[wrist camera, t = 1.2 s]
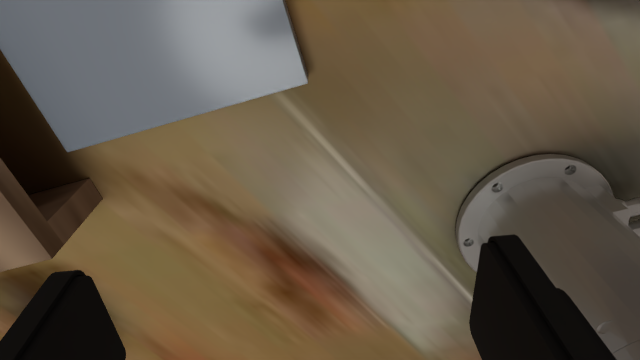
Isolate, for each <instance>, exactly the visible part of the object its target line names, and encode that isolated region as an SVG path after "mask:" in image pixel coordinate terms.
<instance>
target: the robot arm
mask: <svg viewBox="0 0 640 360" xmlns="http://www.w3.org/2000/svg"><path fill="white" fill-rule="evenodd" d="M636 215H640V197H637V198H634V199H632V200H628V201H623V200H621V199H616V198H615V197H614V195H613V192H612V189H611V187H610V185H609V183H608V182H607V180H606V179H605V178H604V177H603V175H602V174H601V173H600V172H598V171H597V170H596V169H595V168H593V167H592V166H591V165H589V164H587V163H586V162H584V161H582V160H580V159H578V158H574V157H571V156H567V155H559V154H542V155H534V156H530V157H526V158H522V159H518V160H516V161H514V162H511V163H509V164H506V165H504V166H502V167H501V168H499V169H497V170H496V171H494V172H492V173H491V174H489V175H488V176H487V177H486V178H485V179H483V180H482V181H481V182H480V183H479V184H478V185H477V186H476V187H475V188H474V189H473V190H472V191H471V193H470V194H469V195H468V197H467V198H466V200H465V202H464V203H463V205H462V206H461V209H460V212H459V214H458V217H457V222H456V229H455V231H456V241H457V244H458V247H459V250H460V252H461V254H462V256H463V257H464V259H465V261H466V262H467V264H468V265H469V266H470V267H471V268H472V269H473V270H474V271H476V272H477V275H476V281H475V288H474V295H473V301H472V308H471V314H470V322H469V323H470V331H471V334H472V337H473V339H474V342H475V344H476V346H477V349H478V351H479V353H480V356H481V358H482V360H640V219H638V221H634V222H629V219H630V217H632V216H636ZM125 359H126V352H125V348H124V346H123V343H122V341H121V339H120V337H119V335H118V333H117V331H116V329H115V326H114V324H113V322H112V320H111V318H110V316H109V314H108V312H107V309H106V307H105V305H104V303H103V301H102V299H101V297H100V294H99V292H98V290H97V288H96V286H95V284H94V282H93V280H92V278H91V277H90V276H86V275H85V274H84V272H82V271H80V270H75V271H63V272H55V273H52V274H51V275H50V276H49V277H48V278H47V280H46V281H45V282H44V284H43V285H42V286H41V288H40V289H39V290H38V292H37V293H36V294H35V296H34V297H33V298H32V300H31V301H30V302H29V304H28V305H27V306H26V308H25V309H24V310H23V312H22V313H21V314H20V316H19V317H18V318H17V320H16V321H15V322H14V324H13V325H12V326H11V328H10V329H9V330H8V332H7V333H6V334H5V336H4V337H3V338H2V340H1V341H0V360H125Z"/></svg>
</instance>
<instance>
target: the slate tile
mask: <svg viewBox="0 0 640 360" xmlns="http://www.w3.org/2000/svg"><path fill="white" fill-rule="evenodd" d="M0 50H1V51H2V53H3V54H4V56H5V57H6V59H7V60H8V62H9V64H10V65H11V67H12V68H13V70H14V71H15V73H16V74H17V76H18V77H19V79H20V80H21V82H22V84H23V85H24V87H25V88H26V90H27V91H28V93H29V94H30V96H31V97H32V99H33V100H34V102H35V104H36V105H37V107H38V108H39V110H40V111H41V113H42V114H43V116H44V117H45V119H46V120H47V122H48V124H49V125H50V127H51V128H52V130H53V131H54V133H55V134H56V136H57V137H58V139H59V140H60V142H61V144H62V145H63V147H64V148H65V150H66V151H67V152H71V151H74V150H77V149H81V148H84V147H88V146H91V145H95V144H98V143H102V142H105V141H109V140H112V139H116V138H119V137H123V136H126V135H130V134H133V133H137V132H140V131H143V130H147V129H150V128H154V127H157V126H161V125H164V124H168V123H171V122H175V121H178V120H182V119H185V118H189V117H192V116H196V115H199V114H203V113H206V112H210V111H213V110H216V109H220V108H223V107H227V106H230V105H234V104H237V103H241V102H244V101H248V100H251V99H255V98H258V97H262V96H265V95H269V94H272V93H276V92H279V91H282V90H286V89H289V88H293V87H296V86H300V85H303V84H307V83H308V73H307V70H306V66H305V63H304V60H303V56H302V53H301V50H300V46H299V43H298V40H297V36H296V33H295V30H294V27H293V23H292V20H291V17H290V13H289V10H288V7H287V3H286V0H0Z"/></svg>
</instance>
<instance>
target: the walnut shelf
mask: <svg viewBox="0 0 640 360" xmlns="http://www.w3.org/2000/svg"><path fill="white" fill-rule="evenodd" d="M101 200H102V197H101V195H100V194H99V192H98V191H97V189H96V188H95V186H94V184H93V183H92V181H91V180H90V178H88V179H85V180H81V181H77V182H74V183H70V184H67V185H63V186H59V187H56V188H52V189H49V190H45V191H41V192H38V193H34V194H30V195H27V194H26V192H25V191H24V189H23V188H22V187H21V185H20V184H19V183H18V181H17V180H16V179H15V177H14V176H13V175H12V173H11V172H10V170H9V169H8V168H7V166H6V165H5V164H4V162H3V161H2V160H1V158H0V272H1V271H5V270H9V269H13V268H17V267H21V266H25V265H29V264H33V263H37V262H41V261H45V260H49V259H52V258H53V257H54V256H55V255H56V253H57V252H58V251H59V250H60V249H61V248H62V246H63V245H64V244H65V243H66V242H67V240H68V239H69V238H70V237H71V236H72V235H73V233H74V232H75V231H76V230H77V229H78V227H79V226H80V225H81V224H82V223H83V221H84V220H85V219H86V218H87V217H88V216H89V214H90V213H91V212H92V211H93V210H94V208H95V207H96V206H97V205H98V204H99V203H100V201H101Z"/></svg>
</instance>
